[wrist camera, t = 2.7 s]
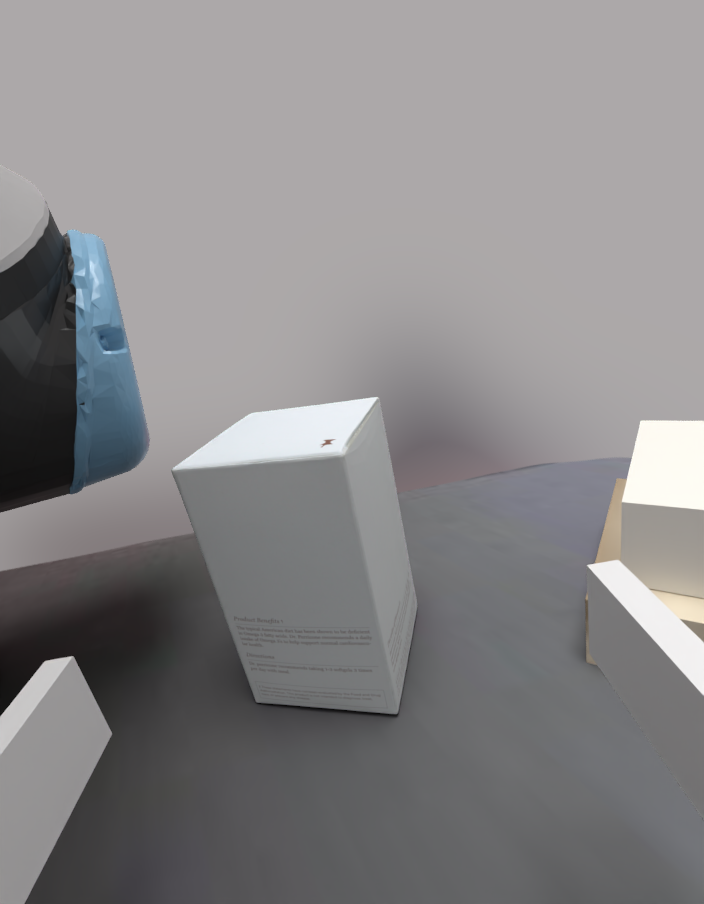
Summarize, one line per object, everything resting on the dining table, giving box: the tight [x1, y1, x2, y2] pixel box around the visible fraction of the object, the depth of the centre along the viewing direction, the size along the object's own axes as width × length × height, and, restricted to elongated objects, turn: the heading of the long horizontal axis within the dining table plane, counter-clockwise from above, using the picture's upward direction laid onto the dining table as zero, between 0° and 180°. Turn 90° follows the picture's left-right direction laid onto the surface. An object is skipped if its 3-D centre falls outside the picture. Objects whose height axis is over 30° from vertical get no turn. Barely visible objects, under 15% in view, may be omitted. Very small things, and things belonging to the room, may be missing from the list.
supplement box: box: [171, 397, 418, 714], centre depth 22 cm, size 7×7×13 cm
